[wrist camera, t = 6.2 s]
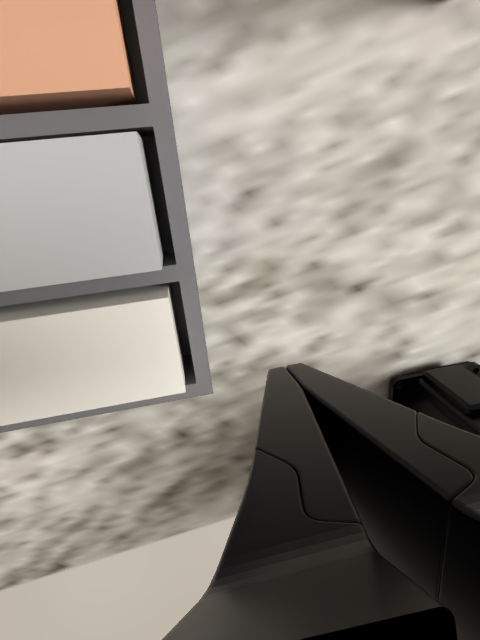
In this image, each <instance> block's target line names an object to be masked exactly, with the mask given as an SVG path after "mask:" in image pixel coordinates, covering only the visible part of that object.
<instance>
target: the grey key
mask: <svg viewBox="0 0 480 640" xmlns="http://www.w3.org/2000/svg"><path fill="white" fill-rule="evenodd" d="M162 263H163V249H162V243H161V238H160V232H159V227H158V221H157V216H156V210H155V204H154V199H153V193H152V188H151V182H150V177H149V171H148V166H147V160H146V155H145V149H144V143H143V140H142V138H141V137H140V136H139V134H138V133H137V132H136V131H135V132H123V133H112V134H100V135H89V136H77V137H66V138H55V139H43V140H32V141H20V142H9V143H0V292H5V291H12V290H20V289H27V288H34V287H41V286H49V285H56V284H63V283H70V282H78V281H85V280H92V279H100V278H107V277H114V276H121V275H129V274H136V273H143V272H150V271H158V270H162Z"/></svg>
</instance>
